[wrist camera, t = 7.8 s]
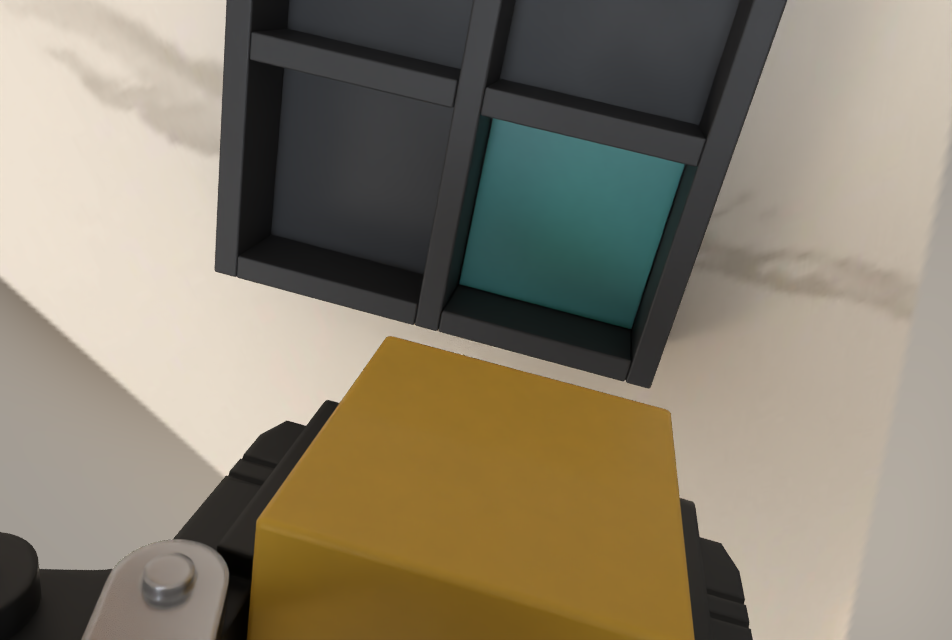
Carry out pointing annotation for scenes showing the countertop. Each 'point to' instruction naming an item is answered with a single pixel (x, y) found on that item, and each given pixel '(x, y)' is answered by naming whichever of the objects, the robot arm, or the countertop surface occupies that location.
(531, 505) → the block
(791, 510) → the countertop surface
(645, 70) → the tray
